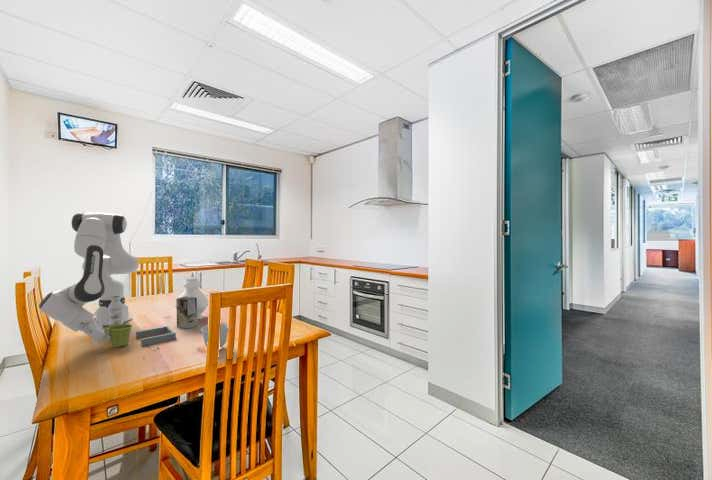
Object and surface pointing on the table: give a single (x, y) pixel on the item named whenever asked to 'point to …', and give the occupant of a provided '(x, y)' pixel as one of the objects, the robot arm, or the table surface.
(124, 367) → the table surface
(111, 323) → the plastic bottle
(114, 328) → the plant pot
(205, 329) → the teacup
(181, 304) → the coffee box
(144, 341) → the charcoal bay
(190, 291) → the decorative vase
